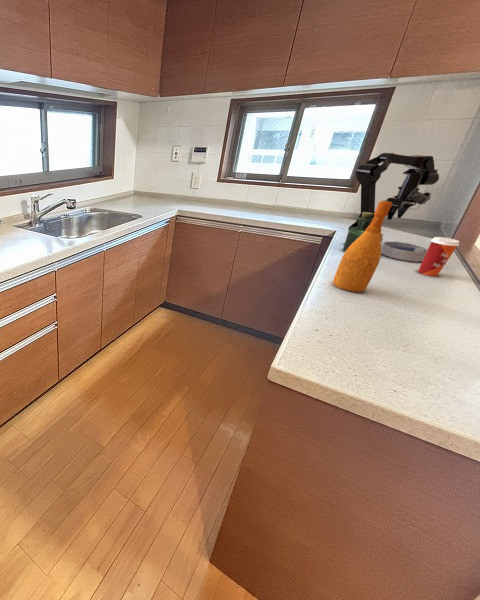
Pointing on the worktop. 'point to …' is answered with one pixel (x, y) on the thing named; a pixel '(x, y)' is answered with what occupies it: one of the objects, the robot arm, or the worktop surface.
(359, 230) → the potion bottle
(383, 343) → the worktop surface
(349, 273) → the wine bottle
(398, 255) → the dish
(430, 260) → the paper cup
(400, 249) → the rod
